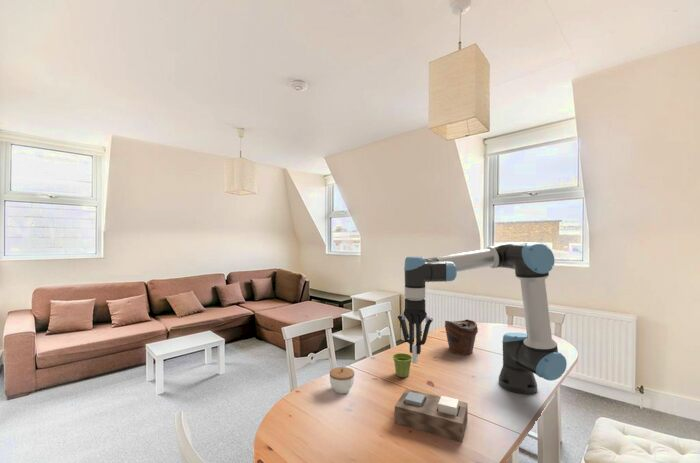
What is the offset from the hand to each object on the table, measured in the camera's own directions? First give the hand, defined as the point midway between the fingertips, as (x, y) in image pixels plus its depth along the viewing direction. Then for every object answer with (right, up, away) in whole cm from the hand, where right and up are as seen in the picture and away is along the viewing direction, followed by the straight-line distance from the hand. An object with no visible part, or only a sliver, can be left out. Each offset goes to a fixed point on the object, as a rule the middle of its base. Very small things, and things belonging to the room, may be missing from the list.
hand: (415, 361), depth 115 cm
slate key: (0, -17, 0) cm, 17 cm away
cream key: (+11, -16, -6) cm, 20 cm away
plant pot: (+1, -21, +34) cm, 40 cm away
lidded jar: (-28, -21, +19) cm, 40 cm away
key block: (+5, -20, -3) cm, 21 cm away
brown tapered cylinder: (+41, -21, +65) cm, 80 cm away
